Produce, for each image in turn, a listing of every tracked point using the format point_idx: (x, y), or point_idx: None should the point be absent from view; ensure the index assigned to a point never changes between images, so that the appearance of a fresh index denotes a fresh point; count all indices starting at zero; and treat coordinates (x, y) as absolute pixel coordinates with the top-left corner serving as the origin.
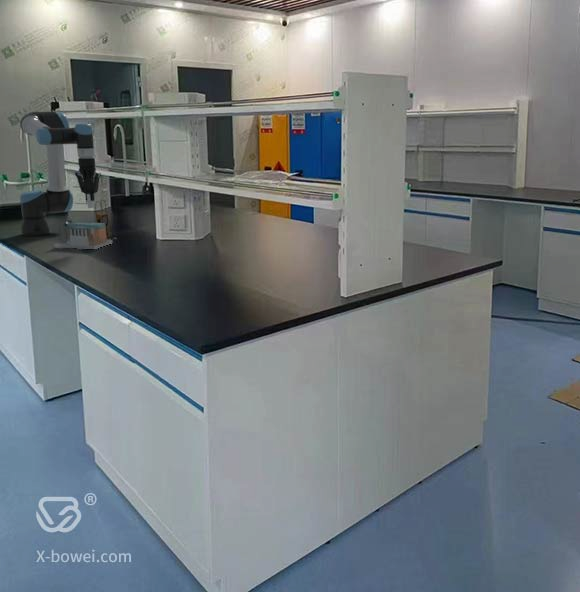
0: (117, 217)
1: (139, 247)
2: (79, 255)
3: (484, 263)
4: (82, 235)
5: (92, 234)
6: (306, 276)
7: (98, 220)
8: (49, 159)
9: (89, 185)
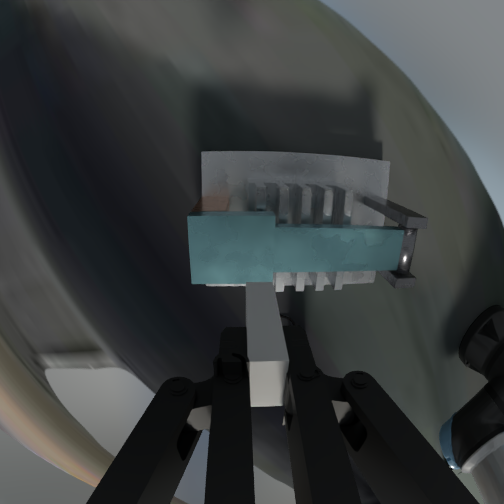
0: (362, 479)
1: (82, 243)
2: (206, 53)
3: None
4: (279, 183)
5: None
6: None
7: None
8: None
9: (237, 465)
